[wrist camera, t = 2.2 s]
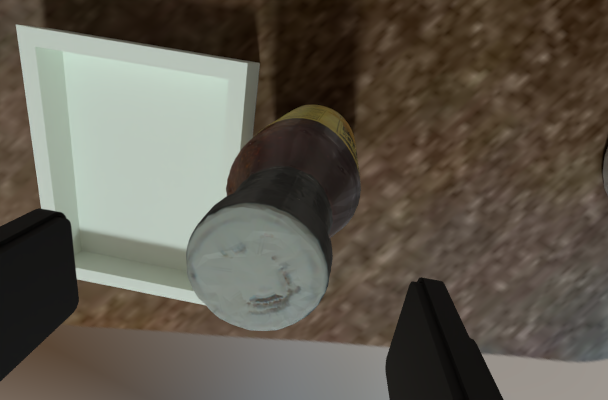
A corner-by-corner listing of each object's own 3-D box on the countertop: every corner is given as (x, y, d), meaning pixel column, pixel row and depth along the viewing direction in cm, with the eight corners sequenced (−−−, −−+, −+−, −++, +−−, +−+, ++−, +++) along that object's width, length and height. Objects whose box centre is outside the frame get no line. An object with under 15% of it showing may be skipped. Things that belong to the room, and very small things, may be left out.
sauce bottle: (344, 187, 29) (338, 401, 11) (270, 170, 29) (141, 353, 11) (364, 107, 27) (402, 208, 8) (283, 89, 27) (147, 150, 9)
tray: (259, 62, 27) (247, 63, 23) (238, 285, 34) (226, 309, 31) (55, 28, 27) (15, 24, 24) (77, 253, 35) (50, 273, 32)
